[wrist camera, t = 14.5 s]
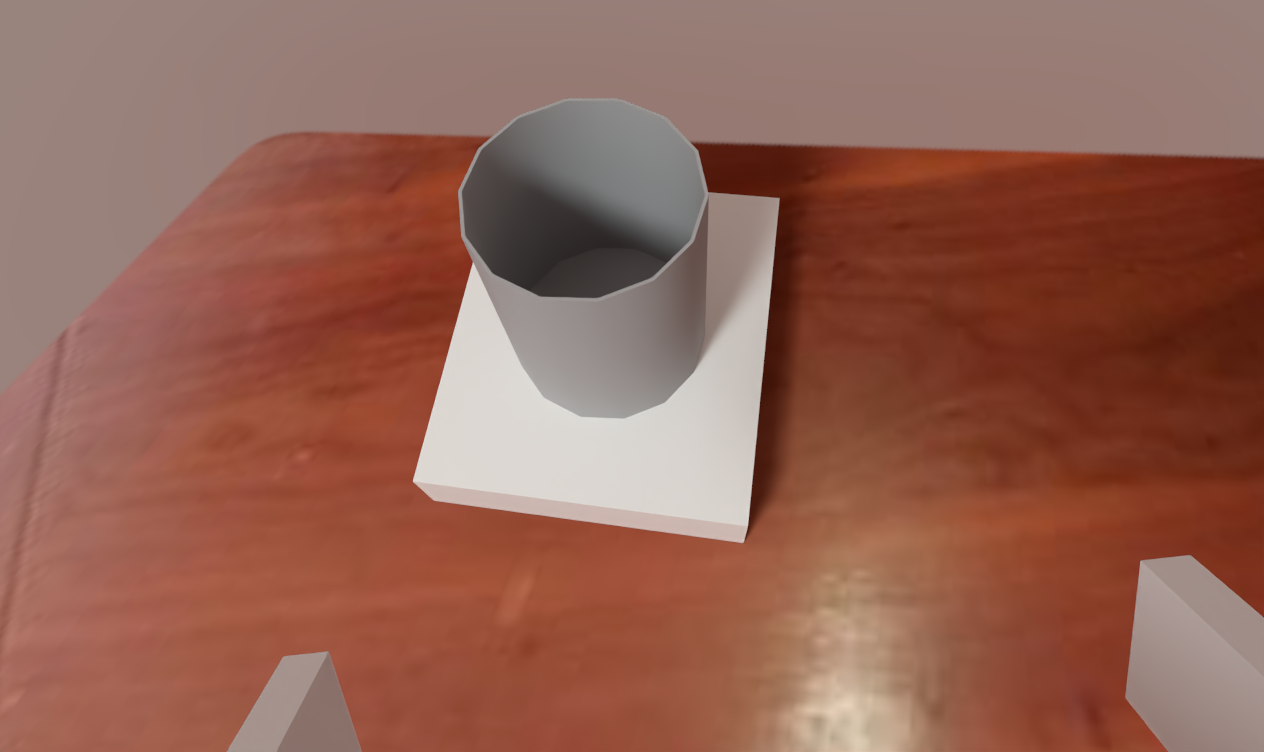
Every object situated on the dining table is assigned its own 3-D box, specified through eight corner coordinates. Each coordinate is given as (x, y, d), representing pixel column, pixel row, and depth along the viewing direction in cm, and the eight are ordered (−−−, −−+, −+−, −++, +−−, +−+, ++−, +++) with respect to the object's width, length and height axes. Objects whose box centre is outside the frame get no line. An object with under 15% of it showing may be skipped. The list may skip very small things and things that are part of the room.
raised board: (773, 234, 41) (779, 198, 38) (743, 543, 34) (747, 526, 31) (509, 211, 42) (497, 175, 40) (434, 500, 36) (412, 481, 33)
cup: (741, 351, 35) (758, 214, 26) (584, 456, 33) (543, 350, 24) (632, 223, 38) (613, 61, 29) (485, 313, 36) (415, 173, 27)
